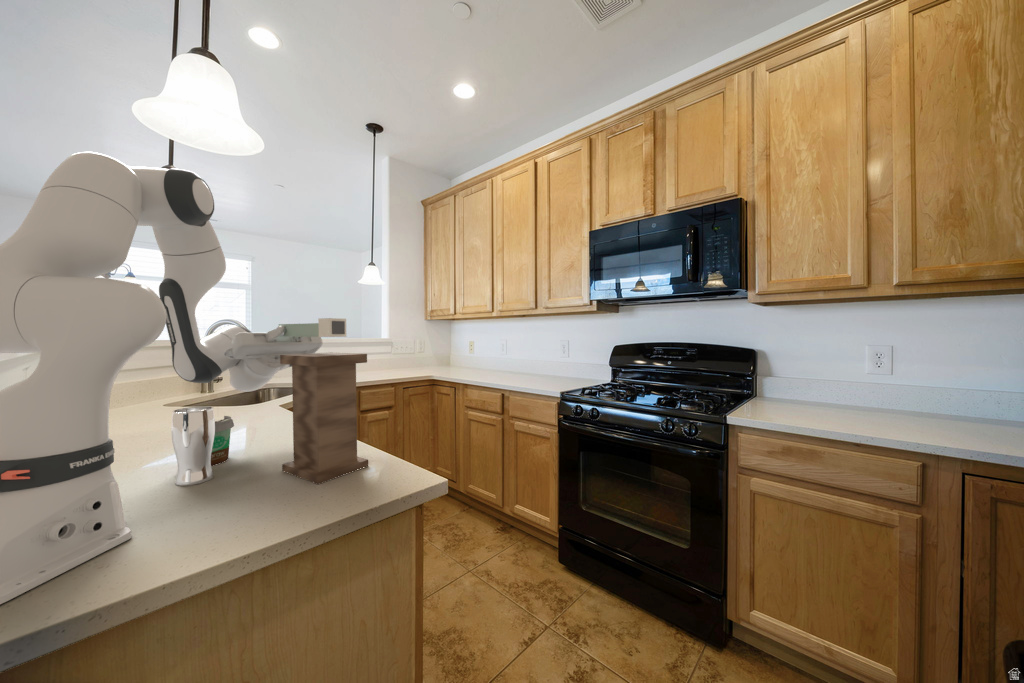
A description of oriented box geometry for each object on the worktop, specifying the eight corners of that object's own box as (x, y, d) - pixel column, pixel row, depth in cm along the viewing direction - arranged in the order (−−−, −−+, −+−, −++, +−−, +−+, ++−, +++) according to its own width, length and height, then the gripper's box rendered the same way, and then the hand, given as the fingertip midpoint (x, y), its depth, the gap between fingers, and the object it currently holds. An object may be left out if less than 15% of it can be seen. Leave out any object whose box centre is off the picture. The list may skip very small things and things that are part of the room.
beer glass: (217, 471, 83) (216, 404, 83) (214, 481, 78) (213, 409, 77) (175, 478, 80) (174, 408, 79) (169, 489, 74) (167, 414, 73)
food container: (197, 473, 82) (196, 428, 82) (175, 471, 84) (174, 427, 83) (247, 455, 95) (246, 416, 94) (227, 454, 96) (226, 415, 96)
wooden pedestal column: (282, 471, 84) (280, 354, 83) (332, 456, 94) (331, 352, 93) (317, 484, 76) (315, 356, 76) (368, 466, 86) (367, 353, 86)
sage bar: (276, 336, 92) (276, 320, 92) (293, 336, 95) (293, 320, 95) (330, 336, 80) (330, 318, 80) (347, 336, 83) (346, 318, 83)
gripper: (218, 346, 90) (240, 315, 83) (303, 343, 107) (328, 318, 101) (224, 369, 88) (247, 340, 82) (310, 363, 106) (335, 339, 99)
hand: (292, 328), depth 91 cm, fingers closed on sage bar, 3 cm apart
